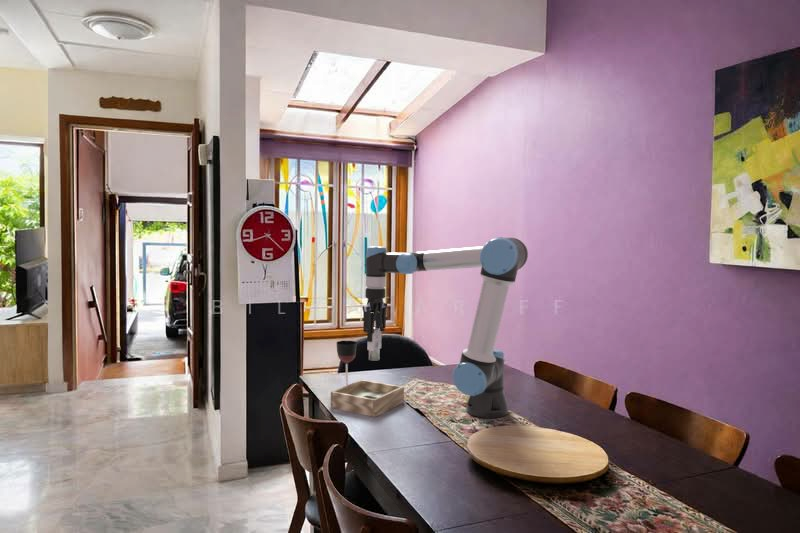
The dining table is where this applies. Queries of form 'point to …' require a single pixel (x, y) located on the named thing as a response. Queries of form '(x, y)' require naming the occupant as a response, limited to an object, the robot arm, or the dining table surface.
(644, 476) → the dining table surface
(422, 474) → the dining table surface
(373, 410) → the box
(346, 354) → the wineglass
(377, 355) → the peg
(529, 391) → the dining table surface
